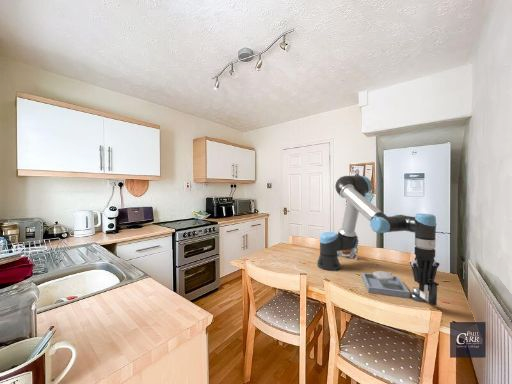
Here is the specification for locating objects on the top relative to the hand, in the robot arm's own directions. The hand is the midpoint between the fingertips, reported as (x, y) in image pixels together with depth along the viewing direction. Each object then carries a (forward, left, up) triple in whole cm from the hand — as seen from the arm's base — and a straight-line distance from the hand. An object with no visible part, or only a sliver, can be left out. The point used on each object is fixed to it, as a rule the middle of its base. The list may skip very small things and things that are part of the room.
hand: (423, 297), depth 99 cm
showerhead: (-12, +19, -5) cm, 23 cm away
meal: (-27, +61, -6) cm, 67 cm away
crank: (+3, +5, -3) cm, 7 cm away
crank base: (+1, +9, -5) cm, 11 cm away
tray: (-12, +18, -5) cm, 23 cm away
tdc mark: (+13, +9, -5) cm, 16 cm away
